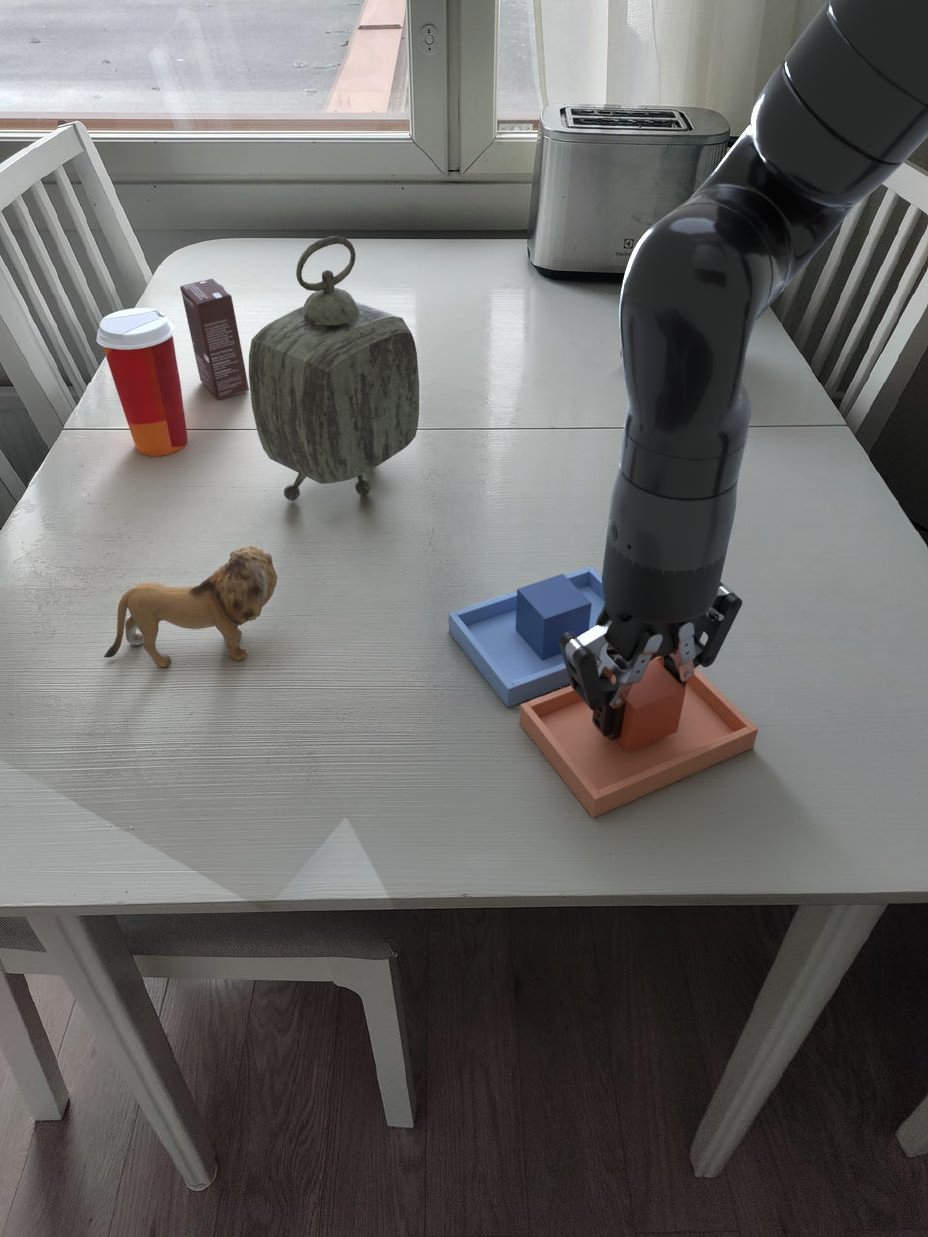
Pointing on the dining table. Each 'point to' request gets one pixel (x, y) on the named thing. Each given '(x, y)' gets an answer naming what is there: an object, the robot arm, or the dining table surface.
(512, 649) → the blue tray
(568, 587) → the blue block
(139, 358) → the paper cup
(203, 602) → the lion figurine
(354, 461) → the tabletop clock
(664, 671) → the terracotta block
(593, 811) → the clay tray
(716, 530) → the robot arm
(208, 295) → the box
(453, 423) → the dining table surface
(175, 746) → the dining table surface
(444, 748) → the dining table surface
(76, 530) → the dining table surface
